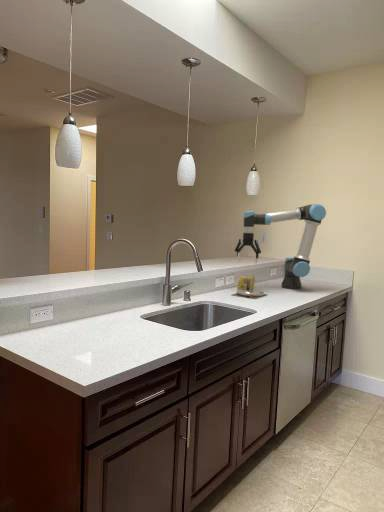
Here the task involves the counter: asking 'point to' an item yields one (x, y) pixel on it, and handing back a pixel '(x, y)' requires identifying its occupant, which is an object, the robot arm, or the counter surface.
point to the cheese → (245, 282)
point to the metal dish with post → (249, 291)
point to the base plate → (248, 296)
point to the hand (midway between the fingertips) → (247, 262)
